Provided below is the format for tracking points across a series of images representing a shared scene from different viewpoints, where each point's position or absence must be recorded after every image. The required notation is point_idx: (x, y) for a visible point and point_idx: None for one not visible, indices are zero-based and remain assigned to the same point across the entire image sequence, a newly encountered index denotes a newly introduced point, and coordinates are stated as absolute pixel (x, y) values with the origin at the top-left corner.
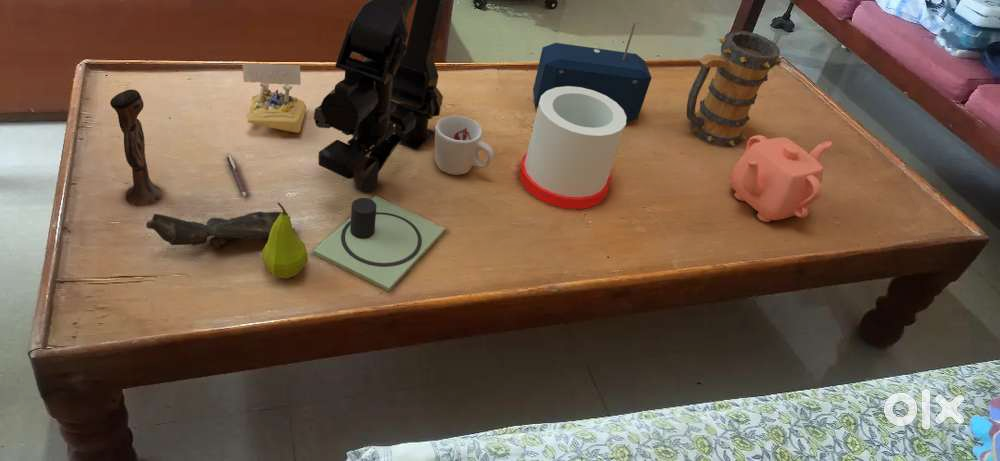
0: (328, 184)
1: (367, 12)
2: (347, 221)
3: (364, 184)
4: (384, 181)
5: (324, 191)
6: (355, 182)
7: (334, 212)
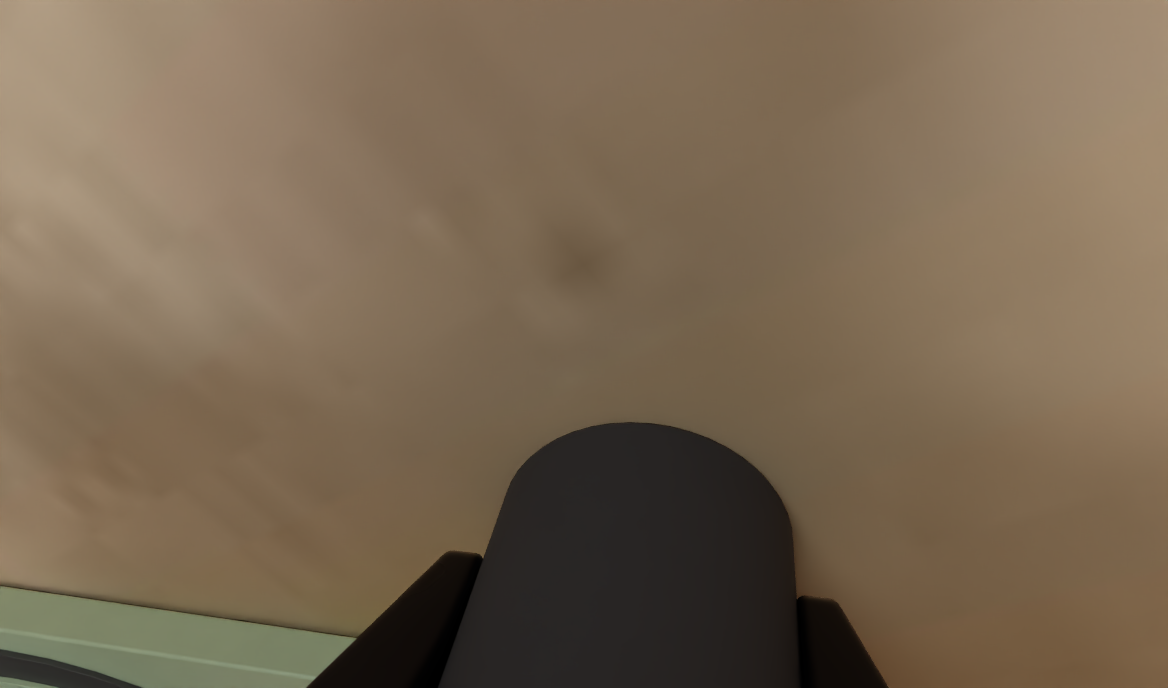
0: (316, 131)
1: None
2: (2, 641)
3: None
4: None
5: (162, 176)
6: (408, 597)
7: (40, 451)
